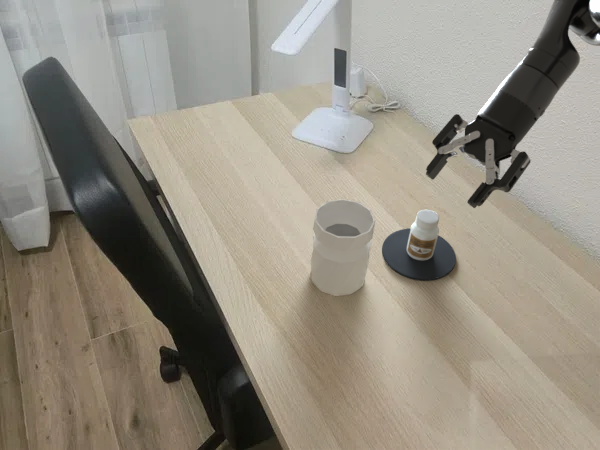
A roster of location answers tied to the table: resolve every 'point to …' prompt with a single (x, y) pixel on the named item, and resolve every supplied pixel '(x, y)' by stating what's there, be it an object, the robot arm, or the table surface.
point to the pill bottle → (423, 235)
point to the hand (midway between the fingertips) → (449, 190)
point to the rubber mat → (417, 269)
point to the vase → (341, 246)
